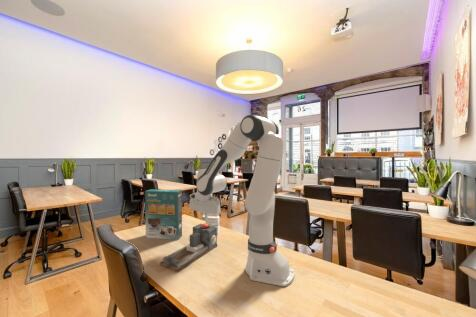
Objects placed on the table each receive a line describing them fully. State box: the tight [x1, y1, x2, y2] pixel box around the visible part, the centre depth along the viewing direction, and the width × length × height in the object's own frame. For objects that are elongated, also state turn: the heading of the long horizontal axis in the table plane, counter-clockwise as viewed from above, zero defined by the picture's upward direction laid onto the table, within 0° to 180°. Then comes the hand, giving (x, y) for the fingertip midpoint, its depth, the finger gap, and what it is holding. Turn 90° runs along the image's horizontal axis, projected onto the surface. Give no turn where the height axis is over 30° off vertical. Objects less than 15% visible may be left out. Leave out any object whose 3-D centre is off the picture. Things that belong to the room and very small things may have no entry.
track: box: [159, 223, 218, 273], centre depth 116 cm, size 12×31×12 cm, turn 150°
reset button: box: [200, 222, 208, 228], centre depth 126 cm, size 4×4×2 cm
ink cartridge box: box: [205, 213, 220, 236], centre depth 146 cm, size 9×5×15 cm, turn 84°
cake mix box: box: [144, 188, 183, 241], centre depth 140 cm, size 22×6×30 cm, turn 82°
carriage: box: [186, 232, 203, 253], centre depth 119 cm, size 7×6×8 cm
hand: (204, 219), depth 126 cm, fingers closed
